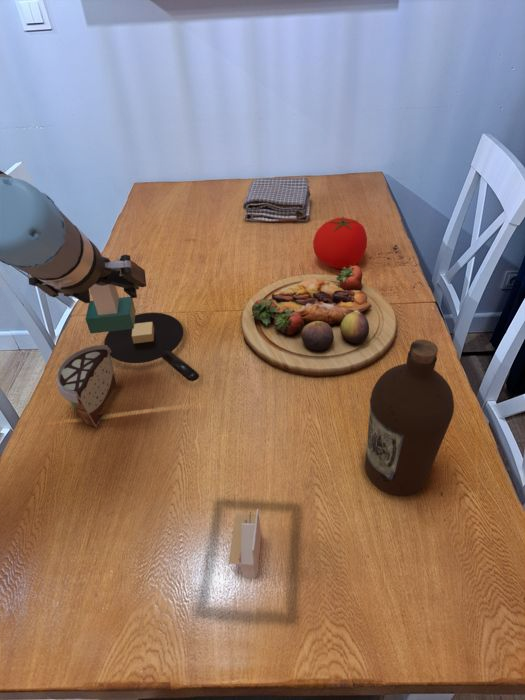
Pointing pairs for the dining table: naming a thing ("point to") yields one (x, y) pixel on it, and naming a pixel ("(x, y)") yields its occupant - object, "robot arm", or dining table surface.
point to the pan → (151, 344)
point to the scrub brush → (109, 310)
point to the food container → (87, 381)
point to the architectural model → (246, 544)
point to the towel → (277, 200)
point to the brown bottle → (407, 422)
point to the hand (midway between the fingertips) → (110, 292)
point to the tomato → (340, 242)
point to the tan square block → (143, 332)
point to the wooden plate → (319, 323)
